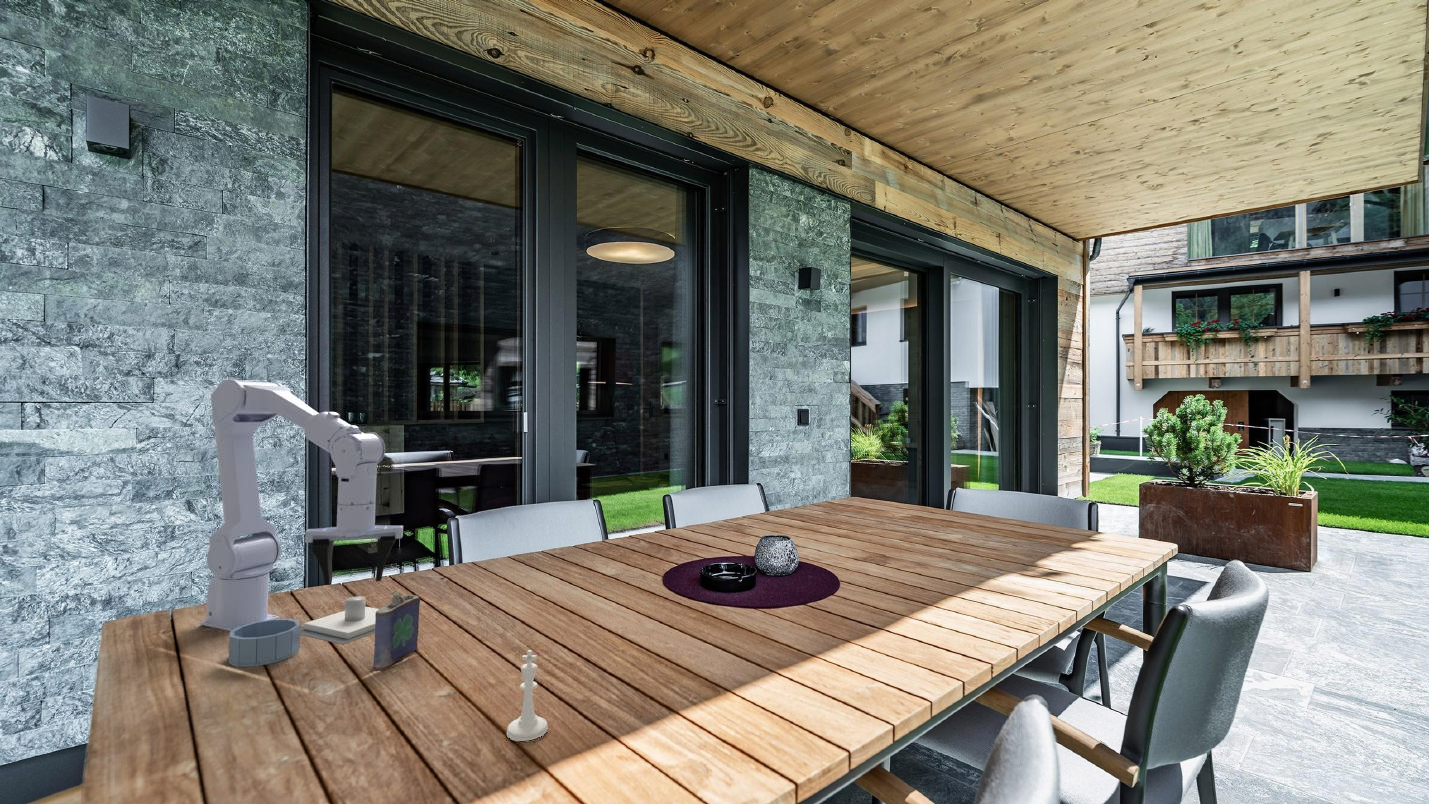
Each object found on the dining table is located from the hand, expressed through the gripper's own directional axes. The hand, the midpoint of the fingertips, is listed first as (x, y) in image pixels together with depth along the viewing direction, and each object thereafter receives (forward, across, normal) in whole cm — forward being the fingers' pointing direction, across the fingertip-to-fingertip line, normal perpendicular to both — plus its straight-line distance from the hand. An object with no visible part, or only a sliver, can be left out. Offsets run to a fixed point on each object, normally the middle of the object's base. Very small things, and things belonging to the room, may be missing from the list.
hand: (353, 581), depth 106 cm
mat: (+10, 0, +6) cm, 11 cm away
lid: (+9, 0, +6) cm, 11 cm away
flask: (+10, +8, -13) cm, 18 cm away
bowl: (+10, -11, -5) cm, 16 cm away
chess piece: (+10, +26, -42) cm, 50 cm away
